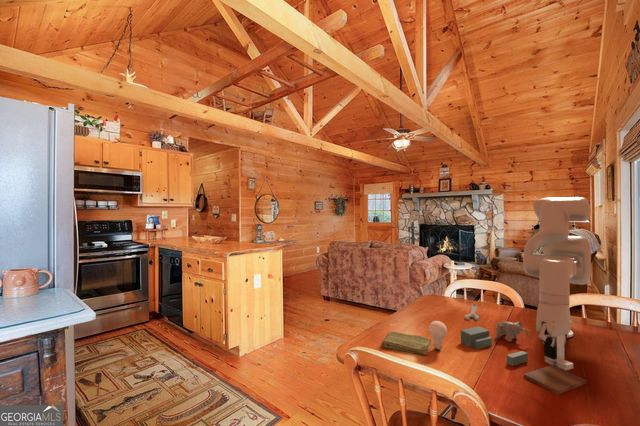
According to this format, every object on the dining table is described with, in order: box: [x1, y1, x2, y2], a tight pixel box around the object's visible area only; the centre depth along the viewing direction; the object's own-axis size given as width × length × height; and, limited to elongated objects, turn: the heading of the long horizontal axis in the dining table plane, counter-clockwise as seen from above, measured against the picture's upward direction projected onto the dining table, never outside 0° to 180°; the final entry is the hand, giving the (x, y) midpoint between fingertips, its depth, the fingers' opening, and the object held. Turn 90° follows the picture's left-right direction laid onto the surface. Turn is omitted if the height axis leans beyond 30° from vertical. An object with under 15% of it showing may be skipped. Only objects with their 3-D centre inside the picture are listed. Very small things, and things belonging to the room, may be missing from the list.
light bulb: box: [428, 320, 448, 350], centre depth 117 cm, size 7×7×11 cm
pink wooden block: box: [544, 333, 574, 371], centre depth 94 cm, size 4×6×10 cm, turn 22°
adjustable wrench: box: [464, 303, 481, 322], centre depth 157 cm, size 25×6×2 cm, turn 145°
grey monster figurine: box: [495, 321, 531, 343], centre depth 125 cm, size 9×12×8 cm
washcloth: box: [381, 331, 431, 356], centre depth 121 cm, size 13×18×3 cm
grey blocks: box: [460, 325, 529, 367], centre depth 115 cm, size 10×21×5 cm, turn 22°
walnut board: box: [523, 364, 588, 395], centre depth 95 cm, size 14×10×1 cm
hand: (554, 355), depth 95 cm, fingers closed on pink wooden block, 3 cm apart
